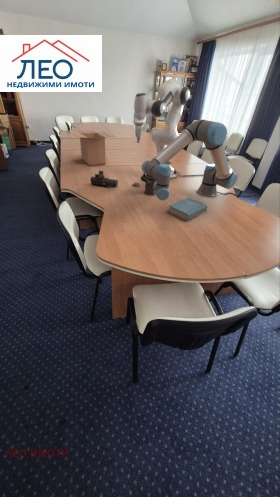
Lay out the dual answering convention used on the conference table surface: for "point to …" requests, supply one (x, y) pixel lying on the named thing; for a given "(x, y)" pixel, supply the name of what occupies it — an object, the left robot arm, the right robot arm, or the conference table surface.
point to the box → (92, 146)
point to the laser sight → (103, 180)
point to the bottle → (149, 187)
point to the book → (187, 208)
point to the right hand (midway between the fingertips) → (153, 174)
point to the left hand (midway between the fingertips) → (138, 141)
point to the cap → (136, 184)
